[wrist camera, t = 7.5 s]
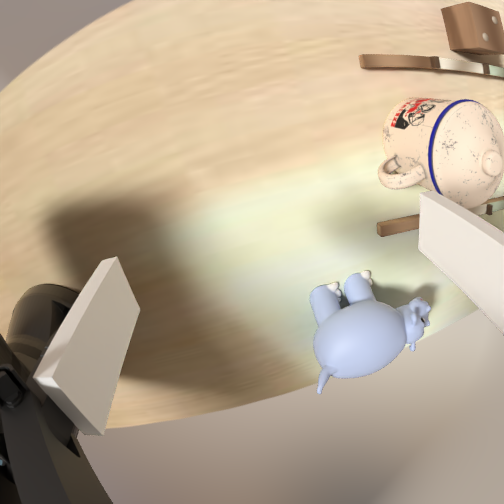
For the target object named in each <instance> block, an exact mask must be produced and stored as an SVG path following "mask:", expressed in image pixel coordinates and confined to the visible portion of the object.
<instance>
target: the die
mask: <svg viewBox="0 0 504 504" xmlns="http://www.w3.org/2000/svg"><path fill="white" fill-rule="evenodd" d="M441 11H442V15H443V19H444V23H445V27H446V31H447V36H448V41H449V46H450V50H455V51H461V52H467V53H473V54H478V55H491V54H504V31H503V26H502V22H501V18H500V14H499V12H498V11H495V10H492V9H489V8H487V7H484V6H481V5H478V4H475V3H471V2H465V3H461V4H457V5H454V6H450V7H446V8H443V9H441Z"/></svg>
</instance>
